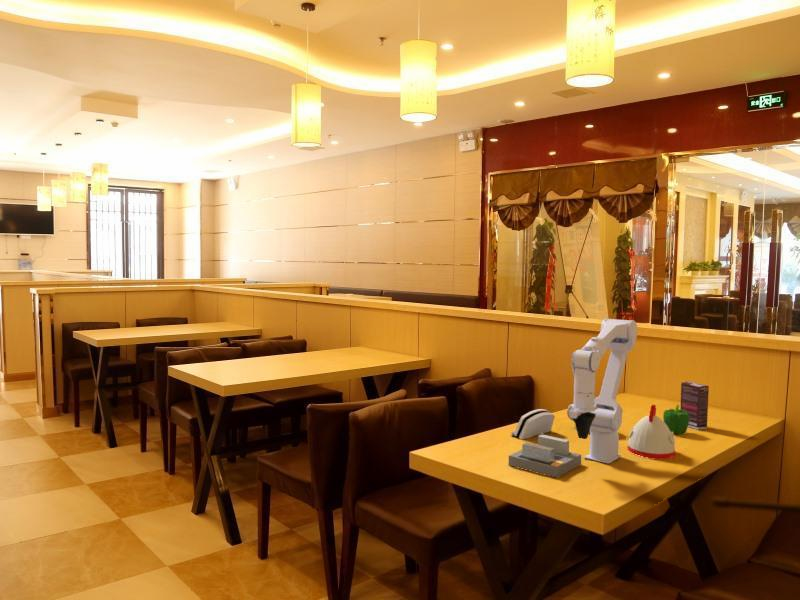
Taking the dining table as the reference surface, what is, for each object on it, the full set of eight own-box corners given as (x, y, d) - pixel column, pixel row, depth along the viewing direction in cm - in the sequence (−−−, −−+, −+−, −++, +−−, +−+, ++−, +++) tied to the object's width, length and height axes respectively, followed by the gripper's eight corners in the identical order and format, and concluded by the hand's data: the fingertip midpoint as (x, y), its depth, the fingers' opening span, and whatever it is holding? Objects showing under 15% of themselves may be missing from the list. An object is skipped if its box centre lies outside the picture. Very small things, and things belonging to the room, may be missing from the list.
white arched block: (539, 428, 224) (548, 404, 221) (549, 435, 221) (558, 410, 217) (509, 436, 213) (518, 411, 210) (519, 443, 210) (528, 418, 207)
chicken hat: (677, 450, 200) (679, 404, 198) (671, 462, 188) (673, 413, 187) (632, 443, 207) (633, 398, 206) (624, 454, 195) (625, 407, 194)
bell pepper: (681, 437, 213) (683, 409, 212) (658, 432, 219) (660, 404, 219) (693, 433, 218) (694, 405, 218) (670, 428, 225) (671, 401, 224)
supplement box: (707, 429, 224) (709, 385, 223) (697, 430, 222) (699, 386, 221) (688, 423, 232) (690, 381, 231) (678, 424, 230) (680, 382, 229)
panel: (526, 465, 184) (526, 442, 183) (553, 472, 178) (554, 448, 177) (521, 467, 182) (522, 444, 181) (549, 474, 176) (550, 450, 175)
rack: (534, 453, 195) (534, 431, 194) (581, 464, 184) (581, 441, 184) (508, 465, 183) (509, 442, 182) (556, 478, 173) (557, 453, 172)
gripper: (582, 385, 186) (580, 430, 187) (559, 393, 175) (558, 440, 176) (604, 389, 182) (603, 434, 183) (583, 397, 171) (581, 445, 172)
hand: (582, 438), depth 179 cm, fingers closed
